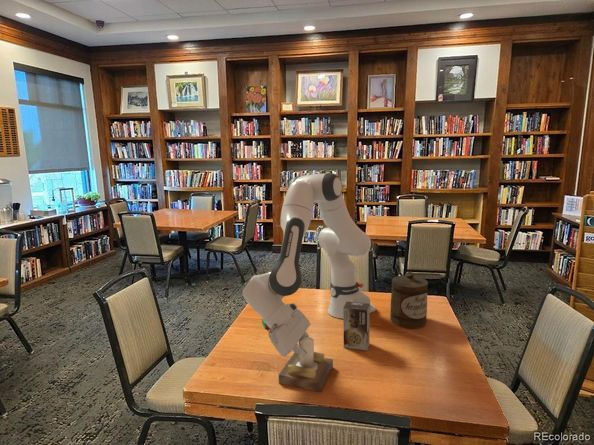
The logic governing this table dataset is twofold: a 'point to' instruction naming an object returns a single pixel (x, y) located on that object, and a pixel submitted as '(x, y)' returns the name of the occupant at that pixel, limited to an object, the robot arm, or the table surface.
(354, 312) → the coffee box
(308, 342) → the white rounded cylinder
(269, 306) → the robot arm
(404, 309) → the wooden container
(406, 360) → the table surface
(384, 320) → the table surface
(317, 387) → the display plinth
